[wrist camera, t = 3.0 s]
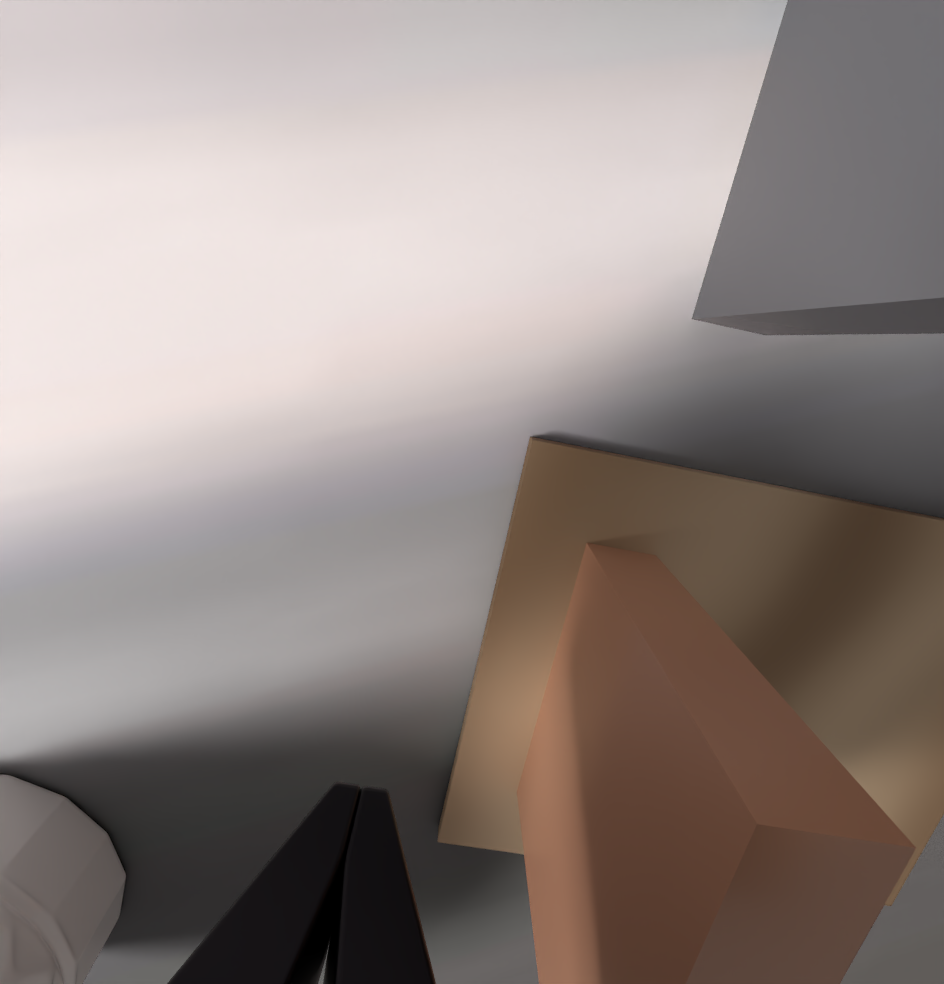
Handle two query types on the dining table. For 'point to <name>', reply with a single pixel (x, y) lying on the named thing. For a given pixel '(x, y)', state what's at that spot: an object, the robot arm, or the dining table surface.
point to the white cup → (53, 886)
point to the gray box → (839, 179)
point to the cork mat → (722, 621)
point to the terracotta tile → (687, 805)
